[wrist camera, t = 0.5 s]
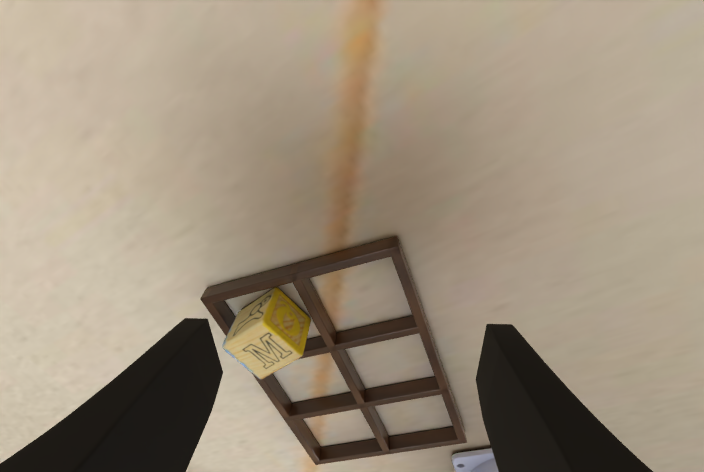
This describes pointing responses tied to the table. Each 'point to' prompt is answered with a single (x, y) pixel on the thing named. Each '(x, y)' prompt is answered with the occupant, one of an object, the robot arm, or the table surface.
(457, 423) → the frame
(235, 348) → the alphabet block
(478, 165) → the table surface
